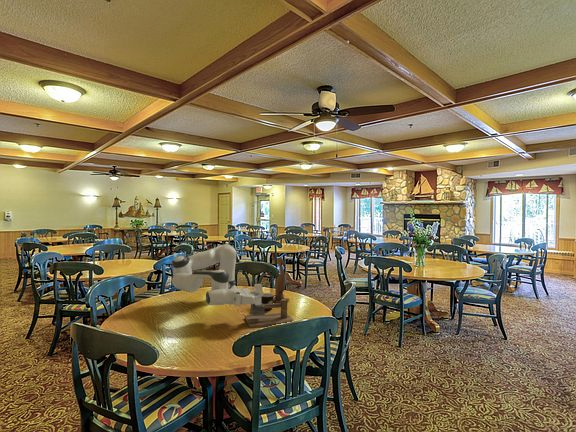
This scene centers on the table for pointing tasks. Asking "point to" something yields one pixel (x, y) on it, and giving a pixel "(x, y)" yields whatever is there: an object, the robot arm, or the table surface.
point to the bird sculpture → (280, 283)
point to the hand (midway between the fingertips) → (259, 294)
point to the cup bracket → (268, 315)
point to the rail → (257, 292)
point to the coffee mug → (267, 299)
